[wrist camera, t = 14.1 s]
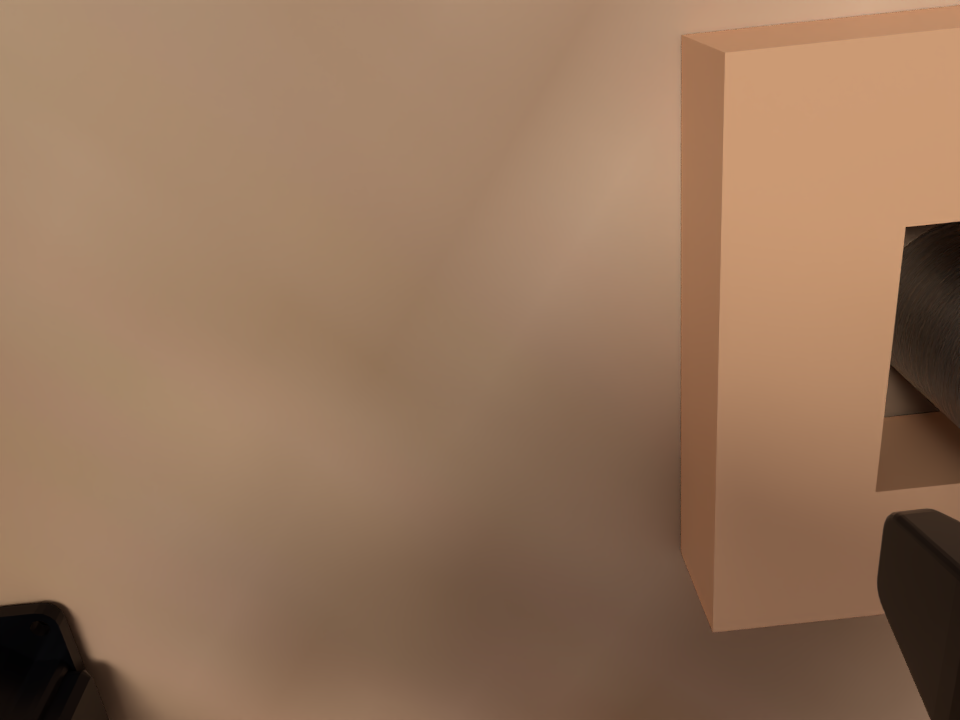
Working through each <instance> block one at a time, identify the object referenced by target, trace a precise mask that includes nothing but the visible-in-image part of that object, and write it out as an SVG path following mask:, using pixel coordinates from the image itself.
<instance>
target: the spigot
mask: <svg viewBox="0 0 960 720" xmlns="http://www.w3.org/2000/svg"><path fill="white" fill-rule="evenodd" d="M890 365H892V366H893V367H894V368H895V369H896V370H897V371H898V372H899V373H900V374H901V375H902V376H903V377H904V378H906V379H907V380H908V381H909V382H910V383H911V384H912V385H913V386H914V387H915V388H916V389H917V390H919V391H920V392H921V393H922V394H923V395H924V396H925V397H926V398H927V399H928V400H929V401H930V402H931V403H933V404H934V405H935V406H936V407H937V408H938V409H939V410H940V411H941V412H942V413H943V414H944V415H946V416H947V417H948V418H949V419H950V420H951V421H952V422H953V423H954V424H955V425H956V426H957V427H958V428H960V221H958V222H951V223H948V224H945V225H942V226H939V227H937V228H935V229H932V230H930V231H929V232H927V233H925V234H923V235H921V236H920V237H918V238H917V239H916V240H914V241H913V242H911V243H910V244H909V245H908V246H907V247H905V248H904V249H903V255H902V263H901V272H900V281H899V290H898V299H897V307H896V316H895V325H894V334H893V342H892V351H891V360H890Z"/></svg>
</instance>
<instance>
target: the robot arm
mask: <svg viewBox="0 0 960 720" xmlns="http://www.w3.org/2000/svg"><path fill="white" fill-rule="evenodd" d="M877 590H878V596H879V599H880V603H881V605H882V608H883V610H884V612H885V615H886V617H887V619H888V622H889V624H890V626H891V629H892V631H893V633H894V636H895V638H896V640H897V643H898V645H899V647H900V650H901V652H902V654H903V656H904V659H905V661H906V663H907V666H908V668H909V670H910V673H911V675H912V677H913V680H914V682H915V684H916V687H917V689H918V691H919V694H920V696H921V698H922V701H923V703H924V705H925V707H926V710H927V712H928V714H929V717H930V719H931V720H960V521H958V520H956V519H954V518H952V517H950V516H947V515H945V514H943V513H941V512H939V511H937V510H934V509H928V508H926V509H916V510H906V511H897V512H893V513H891V514H890V515H889V516H887V518H886V520H885V522H884V526H883V533H882V541H881V549H880V557H879V565H878V574H877ZM38 621H43V622H45V623H47V624H48V625H43V624H41V623H39V622H38ZM0 720H109V719H108V716H107V714H106V711H105V709H104V706H103V703H102V701H101V698H100V696H99V693H98V690H97V688H96V685H95V682H94V680H93V678H92V676H91V675H90V674H89V673H88V672H87V671H86V669H85V667H84V664H83V662H82V659H81V656H80V654H79V651H78V649H77V646H76V643H75V641H74V638H73V635H72V633H71V630H70V628H69V625H68V622H67V620H66V617H65V615H64V614H63V612H62V611H61V610H60V609H59V608H58V607H56V606H54V605H51V604H49V603H34V604H25V605H16V606H6V607H0Z"/></svg>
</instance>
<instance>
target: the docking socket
mask: <svg viewBox="0 0 960 720" xmlns="http://www.w3.org/2000/svg"><path fill="white" fill-rule="evenodd" d="M958 221H960V5H957V6H948V7H939V8H929V9H920V10H911V11H901V12H892V13H883V14H873V15H864V16H855V17H845V18H836V19H827V20H817V21H808V22H799V23H789V24H780V25H771V26H761V27H752V28H743V29H733V30H724V31H714V32H705V33H696V34H686V35H682V92H681V554H682V557H683V559H684V562H685V564H686V567H687V569H688V572H689V574H690V577H691V579H692V582H693V584H694V587H695V589H696V592H697V594H698V597H699V599H700V602H701V604H702V607H703V609H704V612H705V614H706V617H707V619H708V622H709V624H710V627H711V629H712V632H722V631H732V630H741V629H751V628H760V627H769V626H779V625H788V624H797V623H807V622H816V621H826V620H835V619H844V618H854V617H863V616H872V615H882V614H885V612H884V610H883V608H882V605H881V603H880V599H879V596H878V590H877V574H878V565H879V557H880V549H881V541H882V533H883V526H884V522H885V520H886V518H887V516H889V515H890V514H891V513H893V512H897V511H906V510H916V509H926V508H928V509H934V510H937V511H939V512H941V513H943V514H945V515H947V516H950V517H952V518H954V519H956V520H958V521H960V428H958V427H957V426H956V425H955V424H954V423H953V422H952V421H951V420H950V419H949V418H948V417H947V416H946V415H944V414H943V413H942V412H941V411H940V412H930V413H921V414H912V415H902V416H893V417H884V413H885V404H886V395H887V386H888V378H889V369H890V360H891V351H892V342H893V334H894V325H895V316H896V307H897V299H898V290H899V281H900V272H901V263H902V255H903V246H904V237H905V228H906V227H911V226H921V225H930V224H939V223H949V222H958Z"/></svg>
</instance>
